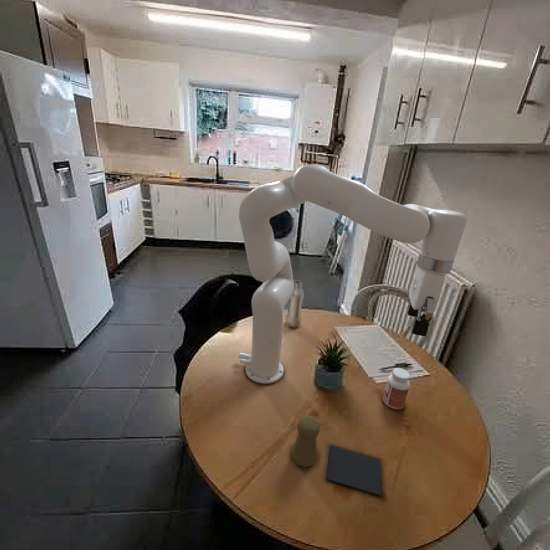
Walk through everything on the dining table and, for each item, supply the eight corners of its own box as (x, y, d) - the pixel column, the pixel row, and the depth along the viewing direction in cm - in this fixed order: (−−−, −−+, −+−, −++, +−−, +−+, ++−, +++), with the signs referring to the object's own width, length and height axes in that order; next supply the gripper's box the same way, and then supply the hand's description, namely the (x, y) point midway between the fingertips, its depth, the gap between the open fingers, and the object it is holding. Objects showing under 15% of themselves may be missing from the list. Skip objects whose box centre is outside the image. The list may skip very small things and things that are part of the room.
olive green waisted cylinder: (290, 444, 78) (294, 411, 74) (313, 443, 79) (319, 411, 75) (293, 467, 73) (298, 433, 68) (318, 466, 73) (325, 432, 69)
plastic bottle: (284, 328, 128) (288, 284, 121) (286, 319, 134) (290, 277, 127) (299, 330, 127) (305, 286, 120) (301, 322, 134) (306, 279, 126)
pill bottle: (408, 405, 93) (417, 376, 89) (395, 413, 90) (404, 383, 86) (390, 392, 98) (398, 363, 94) (378, 399, 95) (385, 370, 91)
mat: (326, 479, 70) (326, 478, 70) (330, 446, 78) (330, 445, 78) (381, 496, 68) (381, 495, 68) (379, 460, 76) (379, 459, 76)
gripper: (413, 250, 82) (397, 307, 89) (423, 272, 67) (404, 339, 73) (443, 255, 80) (425, 312, 87) (461, 279, 65) (438, 346, 71)
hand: (415, 324), depth 80 cm, fingers open, 9 cm apart
